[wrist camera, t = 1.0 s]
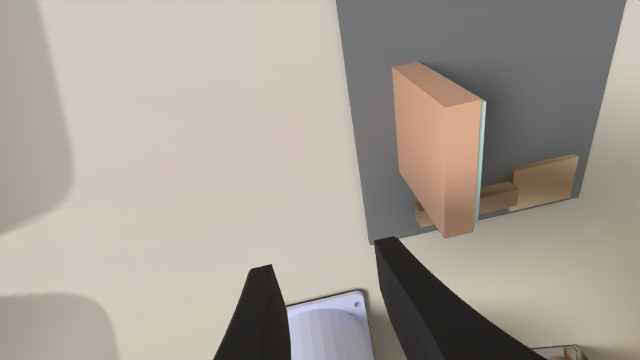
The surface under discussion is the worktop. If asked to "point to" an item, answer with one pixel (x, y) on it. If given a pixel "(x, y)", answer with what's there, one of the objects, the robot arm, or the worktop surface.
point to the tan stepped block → (523, 187)
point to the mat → (477, 85)
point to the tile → (440, 145)
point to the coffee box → (562, 353)
